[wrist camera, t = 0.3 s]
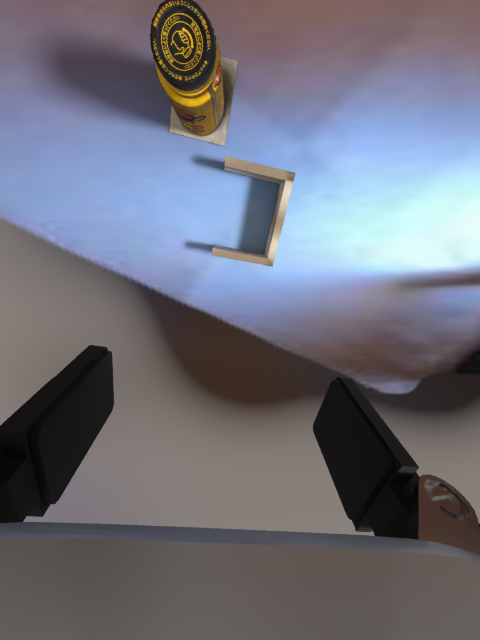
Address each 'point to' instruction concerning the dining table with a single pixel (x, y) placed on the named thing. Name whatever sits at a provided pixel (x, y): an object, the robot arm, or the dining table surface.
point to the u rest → (279, 212)
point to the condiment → (192, 71)
